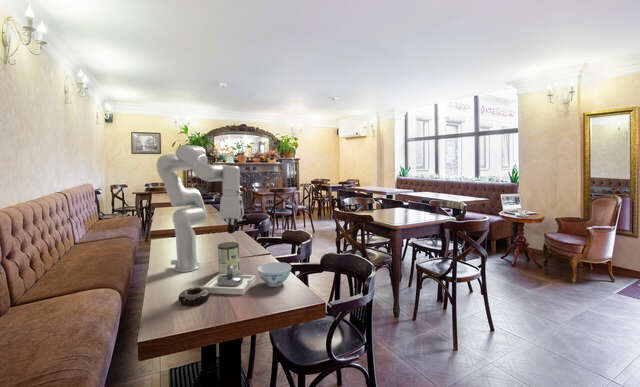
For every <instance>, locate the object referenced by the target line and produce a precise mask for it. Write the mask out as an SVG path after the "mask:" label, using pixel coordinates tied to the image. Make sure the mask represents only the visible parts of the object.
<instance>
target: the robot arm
mask: <svg viewBox="0 0 640 387" xmlns="http://www.w3.org/2000/svg"><path fill="white" fill-rule="evenodd" d="M156 170H157V173H158V175H159V177H160V179H161V180H162V182H163V185H164V189H165V191H166V193H167V196H168V199H169V200H168V201H169V202H170V205H171V206H173V207H174V208H178V209H176V210H175V211H174V212H173V213H172V223H173V226H174V232H175V233H174V234H175V246H176V247H175V248H176V259H171V261H170V265H174V267H173V270H174V271H175V272H177V273H188V272H192V271H193V272H194V271H196V270H198V269H200V268H201V263H199V262H198V257H197V255H198V254H197V237H196V235H197V234H196V232H195V230H194V229H193V227H192V226H197V225H200V224H203V223H205V222H206V221H207V219H208V211H207V208H206V205H205V202H204V199H203V197H202V194H201V192H200V191H199V190H198V189H197V188H196V187H185V186H184V184H183V181H182V178H181V177H180V175H178V174H176V172H175V171H179V172H180V171H190V170H192V172H193V174H194V175H195V176H196V177H197V178H199V179H200V180H203V181H204V182H210V183H211V182H222V195H221V198H220V202H219V203H220V204H219V216H220V217H219V218H220V220H222V221H224V222H225V223H226V225H227V234H234V233H235V232H236V224H237V223H238V222H242V221H243V219H244V218H243V217H244V215H245V213H244V212H245V210H244V209H245V208H244V202H243V196H241V195H243V191H242V190H241V187H240V186H241V185H240V184H241V182H240V181H241V175H240V173H241V172H240V170H241V169H240V167H239V166H237V165H228V164H208V157H207V153H206V149H205V148H204V147H202V146H200V145H192V144H191V145H189V144H185V145H180V146H178V147H177V148H176V150H175V154H173V153H172V154H170V153H169V154H163V155H161V156H159V157H158V159H157V161H156ZM188 206H189V207H188ZM180 207H181V208H180ZM182 207H183V208H182Z"/></svg>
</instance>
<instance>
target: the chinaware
mask: <svg viewBox="0 0 640 387" xmlns="http://www.w3.org/2000/svg"><path fill="white" fill-rule="evenodd" d="M291 270H292V265H291V264H289V263H286V262H279V261H276V262H275V261H273V262H267V263H263V264H260V265H259V266H258V267H257V272H258V275H259V277H260V279H261V280H262V281H263V282H264V283H266V284H267V286H268V287H271V288H272V287H275V288H276V287H280V286H282V285H283V283H284V282H286V280H287V279H288V277H289V276H290V275H291V274H290V273H291Z"/></svg>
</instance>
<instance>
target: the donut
mask: <svg viewBox="0 0 640 387" xmlns="http://www.w3.org/2000/svg"><path fill="white" fill-rule="evenodd" d="M202 287H203V286H202ZM202 287H201V286H197V287H196V286H195V287H190V288H187V289H185V290H183V291H181V292H180V293H179V295H178V298H177V299H178V302H179V303H180V304H181V305H183V306H188V307H189V306H197V305H201V304H203V303H205V302H206V301H208V300H209V299H210V294H211V293H209V291H208V290H207V289H206V288H202Z"/></svg>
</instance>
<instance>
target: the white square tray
mask: <svg viewBox="0 0 640 387" xmlns="http://www.w3.org/2000/svg"><path fill="white" fill-rule="evenodd" d="M223 275H226V274H219V273H218V274H217V275H215V276H214V277H213V278H212V279H210V280H209V281H208V282H207V283H206V284H204V285H203V286H202V288H206V289H207V290H208V291H209V293H210V294H221V295H222V294H224V295H245V293H247V291H248V290H249V289H250V288H251V286H252V285H253V284H254V283H255V282H256V280H257V279H256V277H257V276H256V275H254V274H241V275H242V276H243V282H242V284H240V285H238V286H234V287H220V286H218V285H217V278H218V277H220V276H223Z"/></svg>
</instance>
